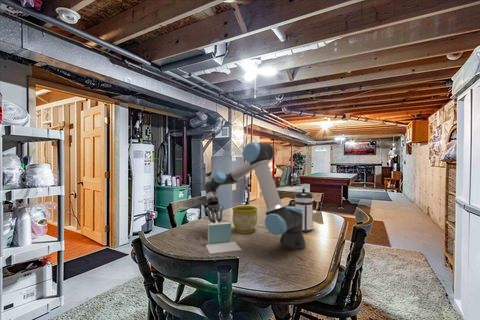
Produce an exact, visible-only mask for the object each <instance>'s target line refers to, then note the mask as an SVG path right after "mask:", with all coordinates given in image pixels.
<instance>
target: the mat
mask: <svg viewBox="0 0 480 320" xmlns="http://www.w3.org/2000/svg"><path fill="white" fill-rule="evenodd" d="M205 245H206V246H205V247H206V249H207V252H208V253H209V255H215V254H222V253H223V254H224V253H230V252H238V251H242V249H241V247H240V246H239V245H238V243H236V241H231V242H225V243H216V244H208V243H207V244H205Z"/></svg>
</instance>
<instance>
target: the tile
mask: <svg viewBox="0 0 480 320" xmlns="http://www.w3.org/2000/svg"><path fill="white" fill-rule="evenodd" d="M225 242H232V222H230V221H224V222H222V221H221V222H220V223H213V222H210V223H207V244H216V243H225Z"/></svg>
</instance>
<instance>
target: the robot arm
mask: <svg viewBox="0 0 480 320" xmlns="http://www.w3.org/2000/svg"><path fill="white" fill-rule="evenodd" d="M242 155H243V158H244V160H245V161H244V162H243V163H242V164H240V165H239V166H238V167H237V168H234V169H233V170H232V171H231V172H229V173H225V172H222V171H217V172H216V173H215V174H214V175H213V177H212V178H211V179H207V180H205V182H204V190H205V191H204V192H205V196H206V203H207V207H205V208H204V212H205V213H206V216H207V217H208V220H209V222H210V223H221V222H222V219H223V210H224V208H225V207H224V206H220V204H219V199H218V193H217V190H218V189H219V187H220V186H224V185H225V186H226V185H235V184H237V183H239V180H240V179H242V178H243V177H245V176H246V175H248V174H250V173H251V172H252V171H254V172H255V176H256V179H257V182H258V185H259V188H260V190H261V191H260V192H261V194H262V196H263V197H262V198H263V200H264V203H265V206H266V210H265V215H266V217H265V218H264V219H265V220H264V225H265V229H267V231H268V232H269V233H271V234H272V235H275V236H279V235H281V236H280V240H279V246H280V247H281V248H283V249H286V250H289V251H290V250H292V251H299V250H303V249H305V248H306V245H307V244H306V240H305V237H304V233H303V231H304V230H303V211H302V209H301V208H299V207H295V206H292V205H291V206H289V205H284V204H283V203H282V202H281V198H280V195H279V192H278V190H277V186H276V184H275V180H274V177H273V174H272V172H271V169H270V166H269V164H270V162H271V160H273V158H274V156H275V148H274V146H273V145H271V144H270V143H267V142H257V141H254V142H252V141H251V142H248V143H247V144H246V145H245V146H244V148H243V152H242ZM219 210H220V211H219Z"/></svg>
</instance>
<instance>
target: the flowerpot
mask: <svg viewBox="0 0 480 320" xmlns="http://www.w3.org/2000/svg"><path fill="white" fill-rule="evenodd" d="M231 209H232V216H231V217H232V224H233V226H234V230H235V231H236V232H237V233H239V234H251V233H253V232H254V231H255V230H256V229H255V228H256V226H257V223H258V207H257V206H253V205H236V206H233V207H232V208H231Z"/></svg>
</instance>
